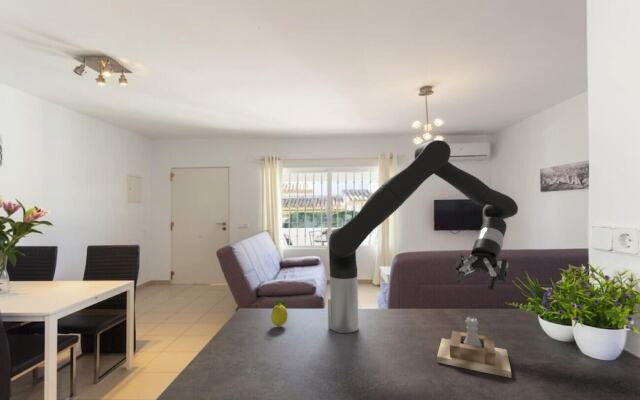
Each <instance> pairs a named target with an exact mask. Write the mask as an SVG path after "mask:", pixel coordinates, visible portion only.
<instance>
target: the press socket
mask: <svg viewBox="0 0 640 400" xmlns="http://www.w3.org/2000/svg"><path fill="white" fill-rule="evenodd" d="M450 336H451V337H450V338H449V339H448V338H443V337H442V338H441V341H440V345H439V348H438V350H437V351H438V352H437V356H436V362H437V363H438V364H444V365H449V366H453V367H457V368H463V369H467V370H471V371H477V372H482V373H486V374H490V375H496V376H501V377H504V378H510V379H512V370H511V364H510V360H509V355H508V350H507V348H500V347H495V342H494V341H495V339H494V337H493V336H486V335H480V334H478V338H479V340H480V343H481V344H482V347H478V346H473V345H467V344H464V340H465V338H466V336H467V332H461V331H456V330H452V331H451V335H450Z"/></svg>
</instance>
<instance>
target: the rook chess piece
mask: <svg viewBox="0 0 640 400" xmlns="http://www.w3.org/2000/svg"><path fill="white" fill-rule="evenodd" d="M464 322H465V323H466V324H465V325H466V327H465V328H466V333H467V336H466V338H465V340H464V344H467V345H473V346H478V347H482V344H481V343H480V340H479V338H478V335H479V334H478V331H479V328H478V325H479V324H480V322H479V320H478V318H476V317H474V316H473V317H471V316H468V317H466V319H465V320H464Z"/></svg>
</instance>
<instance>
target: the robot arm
mask: <svg viewBox="0 0 640 400" xmlns="http://www.w3.org/2000/svg"><path fill="white" fill-rule="evenodd" d="M450 157H451V147H450V145H449V144H448V143H447V142H446V141H444V140H441V139H434V140H430V141H427V142H424V143H422V144H420V145H419V146H418V147H417V148H416V150H415V151H414V160H413V161H412V162H411V163H410V164H409V165H408V166H406V167H405V168H404V169H402V170H401V171H399V172H397V173H396V174H394V175H393V176H391V177H390V178H388V179H387V180H386V181H385V182H383V184H382V185H380V186H379V188H378V189H376V190H375V191H374V192H373V193H372V194H371V196H370V197H369V198H368V199H367V201H365V203H364V204H363V206H362V207H361V209H360V210H359V211H358V213H357V214H356V215H354V217H353V218H352V219H350V220H349V221H348V222H347V223H345V224H344V225H342V227H337V228H335V229H333V231H332V232H331V233H330V234H329V239H328V259H329V261H328V263H329V264H328V265H329V267H328V268H329V297H330V298H328V299H327V324H328V325H327V327H328V329H329V330H332V331H333V332H335V333H338V334H339V333H340V334H351V333H354V332H357V331H358V330H359V292H358V291H359V290H358V289H359V287H358V286H359V284H358V281H359V280H358V264H357V250H358V248H359V247H360V246H361V245H362V244H363V243H364V241H365V240H366V239H367V238H368V236H369V235H371V233H372V232H373V231H374V230H376V229H377V228H378V226H380V225H382V224H383V222H384V221H386V220H387V219H388V218H389V217H390V216H392V214H394V213H395V212H396V211H397V210H399V208H400V207H401V206H403V204H404V203H405V202H406V200H408V199H409V198H410V197H411V196H412V195H413V194H414V193H415V192H416V191H417V190H418V188H420V186H421V185H423V183H424V182H425V181H427V180H428V178H430V177H431V176H433V175H435V176H437V177H438V178H440V179H442V180H443V181H445V182H446V183H448V184H449V185H451V186H452V187H453V188H454V189H456V190H458V191H459V192H460V193H461V194H463V195H464V196H465V198H467V199H469V200H470V201H472V202H473V203H474V204H475V205H477V206H484V207H483V208H482V225H481V227H480V230H479V232H478V234H477V236H476V238H475V241H474V244H473V247H472V249H471V252H470V255H469V256H465V255H464V254H462V253H461V254H459V256H458V258H457V260H456V261H455V264H454V266H453V269H454V271H455V272H456V274H457V277H456V282H457V283H458V284H457V285H459V286H461V287H462V286H463V283H464V281H465V278H466V275H468V274H471V273H473V272H477V273H479V272H481V273H483V274H487V273H489V274H490V278H489V281H488V284H487V290H488V291H489V292H493V291H494V290H495V289H496V288H497V284H498V282H499V281H502V282H505V281H507V279H508V278H507V277H508V273H509V268H510V265H509V263H508V261H507V260H508V259H502V260H499V259H500V258H499V257H500V254H501V251H502V248H503V244H504V238H505V236H506V235H505V234H506V231H507V223H506V221H505V220H506V219H508V218H511V217H514V216H516V215H517V214H518V210H519V205H518V204H517V202H516V201H515V200H514V199H513V198H512V197H510V196H509V195H507V194H505V193H502V192H499V191H498V190H495V189H493V188H491V187H489V186H488V185H487V184H485V183H484V182H483V181H482V180H481V179H479V178H478V177H476V176H474V175H473V174H471V173H469V172H467V171H465V170H463V169H461V168H459V167H457V166H455V165H454V164H452V163H451V162H450V161H449V160H450ZM498 266H499V273H497V272H496V271H495V270H494V269H495V268H497V267H498Z"/></svg>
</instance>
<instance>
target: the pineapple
mask: <svg viewBox="0 0 640 400" xmlns="http://www.w3.org/2000/svg"><path fill="white" fill-rule="evenodd" d="M286 307H287V305H286V302H285V301H280V299H278V300H277V301H275V302H274V304H273V308H272V310H271V313H270V321H271V323H272V324H273V325H274V326H277V327H278V328H281V327H282V326H283V325H284V324H286V323H287V321H288V310H287V308H286Z"/></svg>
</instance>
